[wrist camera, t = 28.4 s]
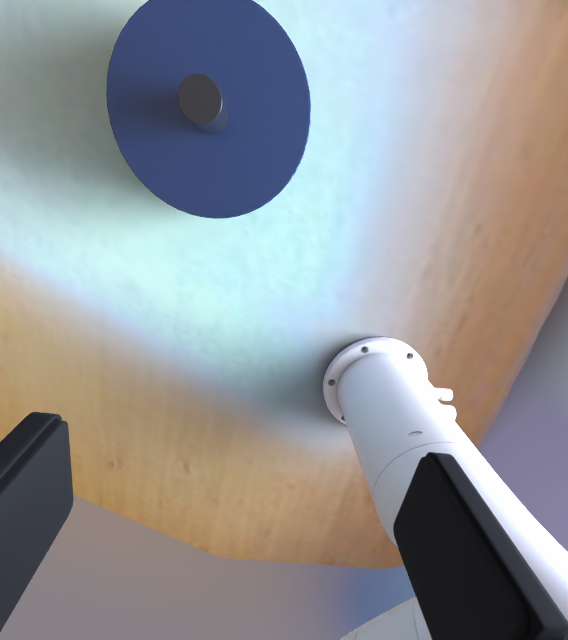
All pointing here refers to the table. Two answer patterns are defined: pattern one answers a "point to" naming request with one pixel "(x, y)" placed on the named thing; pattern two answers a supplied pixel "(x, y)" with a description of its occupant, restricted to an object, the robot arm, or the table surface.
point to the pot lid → (209, 104)
